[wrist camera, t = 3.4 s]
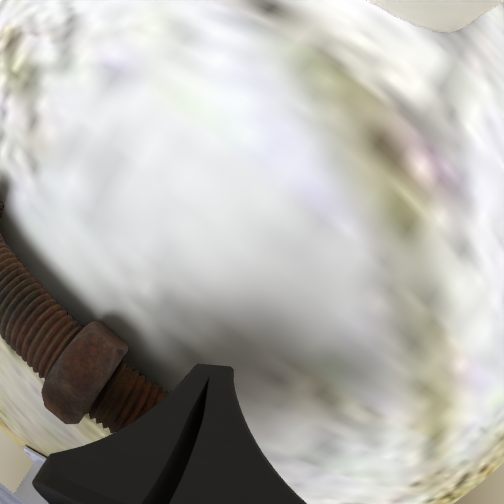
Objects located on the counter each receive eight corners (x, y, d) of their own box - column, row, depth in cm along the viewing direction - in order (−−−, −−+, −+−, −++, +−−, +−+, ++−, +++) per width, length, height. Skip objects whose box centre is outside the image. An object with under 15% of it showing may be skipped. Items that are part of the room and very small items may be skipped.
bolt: (180, 388, 14) (-2, 219, 11) (223, 372, 10) (-9, 157, 8) (132, 472, 9) (-63, 277, 7) (161, 497, 6) (-93, 222, 4)
